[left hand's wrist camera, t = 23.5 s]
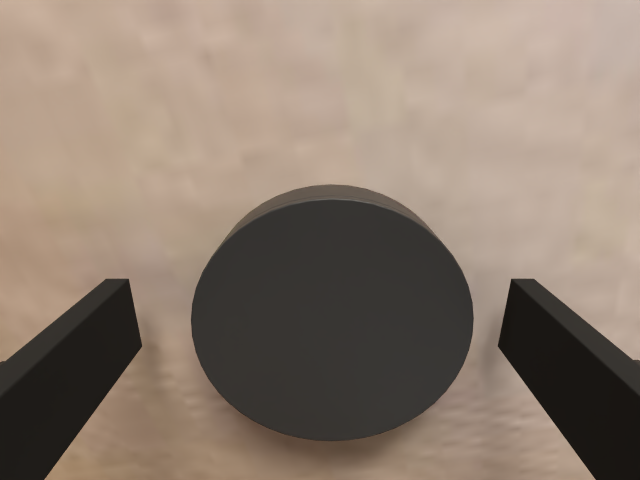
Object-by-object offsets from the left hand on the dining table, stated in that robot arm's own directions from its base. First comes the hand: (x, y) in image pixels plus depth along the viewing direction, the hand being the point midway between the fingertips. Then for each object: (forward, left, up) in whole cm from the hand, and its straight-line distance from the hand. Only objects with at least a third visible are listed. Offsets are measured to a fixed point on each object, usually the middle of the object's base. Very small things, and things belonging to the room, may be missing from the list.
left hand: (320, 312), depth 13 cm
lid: (0, 0, +1) cm, 1 cm away
